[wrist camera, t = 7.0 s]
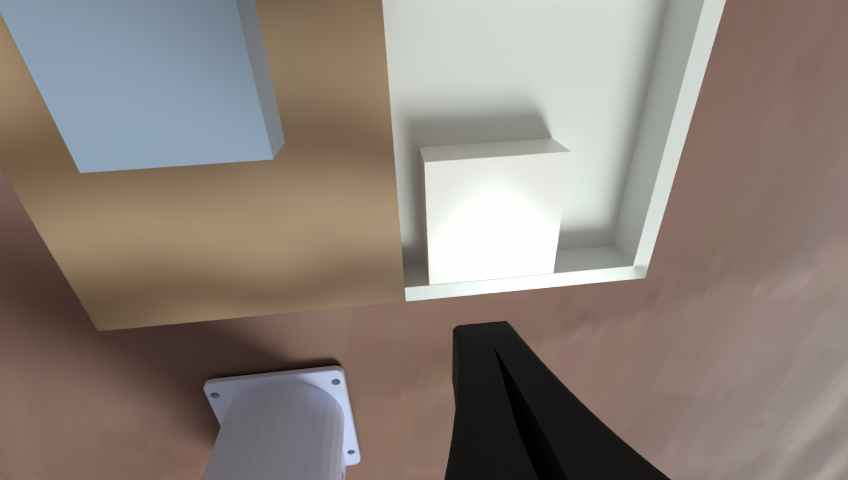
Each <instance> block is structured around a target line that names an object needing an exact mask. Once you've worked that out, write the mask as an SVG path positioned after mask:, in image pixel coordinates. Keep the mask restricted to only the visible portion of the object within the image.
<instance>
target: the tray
mask: <svg viewBox="0 0 848 480" xmlns="http://www.w3.org/2000/svg"><path fill="white" fill-rule="evenodd" d="M725 1H726V0H382V4H383V17H384V30H385V42H386V55H387V68H388V81H389V93H390V106H391V119H392V132H393V144H394V157H395V170H396V183H397V195H398V208H399V221H400V234H401V246H402V259H403V272H404V285H405V297H406V301H414V300H424V299H434V298H445V297H455V296H465V295H475V294H485V293H495V292H506V291H516V290H526V289H536V288H546V287H557V286H567V285H577V284H587V283H597V282H608V281H618V280H628V279H638V278H645V276H646V272H647V269H648V265H649V262H650V259H651V255H652V252H653V248H654V245H655V241H656V238H657V235H658V231H659V228H660V224H661V221H662V217H663V214H664V211H665V207H666V204H667V200H668V197H669V193H670V190H671V187H672V183H673V180H674V176H675V173H676V169H677V166H678V163H679V159H680V156H681V152H682V149H683V145H684V142H685V139H686V135H687V132H688V128H689V125H690V121H691V118H692V114H693V111H694V108H695V104H696V101H697V97H698V94H699V90H700V87H701V84H702V80H703V77H704V73H705V70H706V66H707V63H708V60H709V56H710V53H711V49H712V46H713V42H714V39H715V36H716V32H717V29H718V25H719V22H720V18H721V15H722V12H723V8H724V5H725ZM544 138H553V139H555V140H556V141H557V142H559V143H560V144H562V145H563V146H564V147H566V148H567V149H568V150H570V151H571V156H570V163H569V170H568V177H567V183H566V190H565V197H564V203H563V210H562V217H561V224H560V230H559V237H558V244H557V251H556V257H555V264H554V271H553V273H549V274H539V275H528V276H518V277H507V278H497V279H487V280H476V281H466V282H455V283H445V284H435V285H429V281H428V276H427V271H426V266H425V256H424V234H423V212H422V191H421V169H420V148H419V147H432V146H446V145H460V144H474V143H488V142H502V141H516V140H530V139H544Z"/></svg>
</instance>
